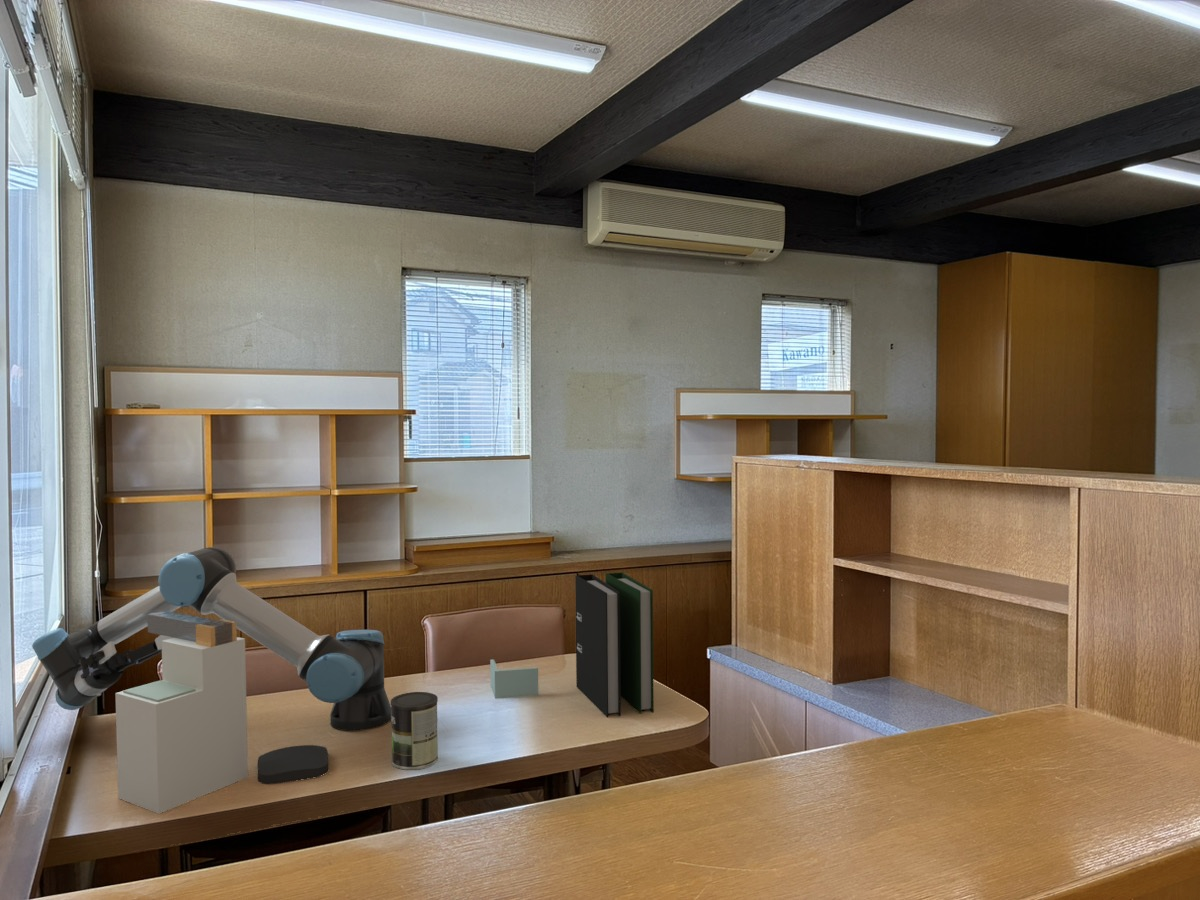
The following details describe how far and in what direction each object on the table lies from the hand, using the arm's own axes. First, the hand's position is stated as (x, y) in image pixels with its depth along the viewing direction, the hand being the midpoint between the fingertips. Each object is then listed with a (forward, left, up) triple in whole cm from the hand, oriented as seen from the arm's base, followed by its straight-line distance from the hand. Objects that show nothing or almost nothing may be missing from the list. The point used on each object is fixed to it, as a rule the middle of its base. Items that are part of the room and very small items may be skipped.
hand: (143, 640), depth 194 cm
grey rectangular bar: (-15, +9, +3) cm, 17 cm away
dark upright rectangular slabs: (-106, -41, -27) cm, 117 cm away
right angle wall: (-78, -49, -27) cm, 96 cm away
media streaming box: (-36, +5, -28) cm, 46 cm away
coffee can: (-62, +1, -27) cm, 68 cm away
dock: (-17, +15, -27) cm, 35 cm away
